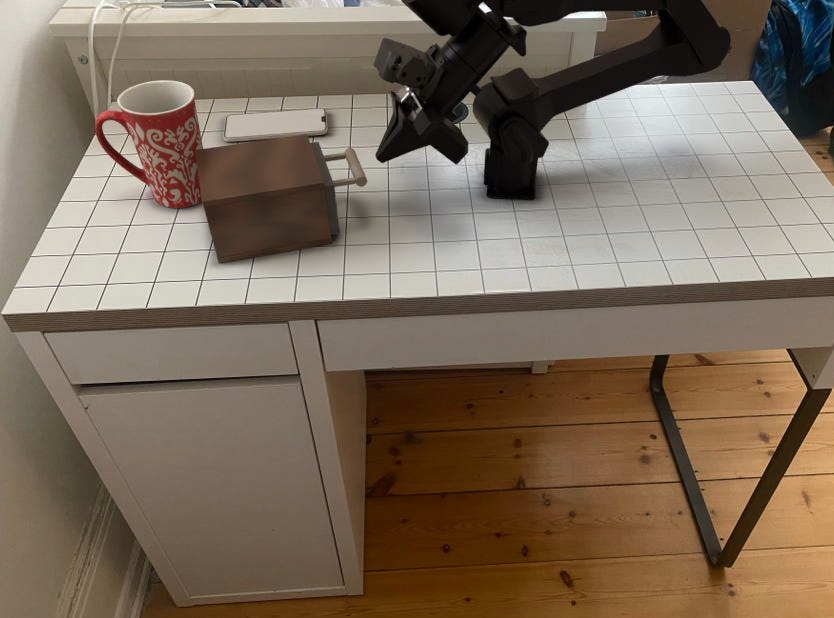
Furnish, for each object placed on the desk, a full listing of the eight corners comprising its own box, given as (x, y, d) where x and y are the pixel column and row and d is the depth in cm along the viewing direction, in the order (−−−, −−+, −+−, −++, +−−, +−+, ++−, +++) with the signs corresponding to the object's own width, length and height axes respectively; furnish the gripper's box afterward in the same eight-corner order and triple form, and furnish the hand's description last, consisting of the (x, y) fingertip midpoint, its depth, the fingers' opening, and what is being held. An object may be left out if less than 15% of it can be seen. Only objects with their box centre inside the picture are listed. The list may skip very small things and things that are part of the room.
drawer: (355, 183, 100) (351, 136, 95) (373, 227, 93) (369, 179, 88) (227, 203, 96) (216, 156, 91) (236, 250, 89) (224, 202, 84)
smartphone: (225, 114, 113) (325, 107, 115) (226, 118, 114) (326, 111, 115) (222, 139, 108) (327, 130, 109) (223, 143, 108) (328, 135, 110)
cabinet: (315, 193, 99) (307, 133, 93) (332, 243, 92) (324, 182, 86) (210, 210, 97) (195, 149, 91) (218, 263, 89) (201, 201, 83)
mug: (221, 172, 103) (198, 77, 93) (215, 210, 97) (190, 111, 87) (126, 178, 102) (93, 82, 92) (114, 217, 95) (77, 118, 86)
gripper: (394, -15, 88) (313, 88, 93) (440, 49, 75) (343, 164, 81) (458, 43, 95) (379, 137, 100) (509, 111, 82) (416, 213, 88)
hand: (378, 159), depth 92 cm, fingers closed
